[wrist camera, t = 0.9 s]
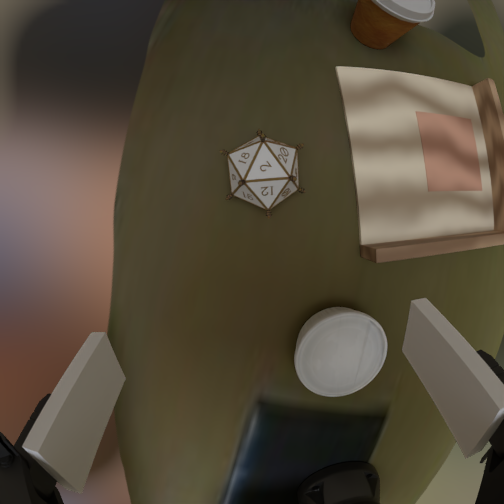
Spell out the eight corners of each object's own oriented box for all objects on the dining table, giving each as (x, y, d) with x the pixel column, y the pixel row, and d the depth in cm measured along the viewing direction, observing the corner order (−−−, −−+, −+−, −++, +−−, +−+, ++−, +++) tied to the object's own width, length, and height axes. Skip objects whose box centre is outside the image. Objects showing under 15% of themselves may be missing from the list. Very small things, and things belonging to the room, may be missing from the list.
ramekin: (382, 352, 37) (397, 369, 32) (309, 390, 37) (317, 412, 32) (355, 283, 36) (371, 293, 30) (274, 324, 36) (278, 342, 31)
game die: (253, 166, 37) (248, 100, 29) (314, 191, 35) (324, 123, 26) (212, 215, 34) (195, 147, 25) (279, 247, 31) (281, 179, 23)
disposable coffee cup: (410, 43, 31) (449, 5, 20) (376, 69, 32) (415, 26, 20) (364, 2, 31) (391, -44, 19) (325, 23, 31) (348, -29, 19)
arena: (497, 238, 35) (518, 241, 30) (360, 256, 35) (376, 262, 30) (475, 89, 32) (493, 80, 27) (335, 68, 32) (345, 50, 27)
